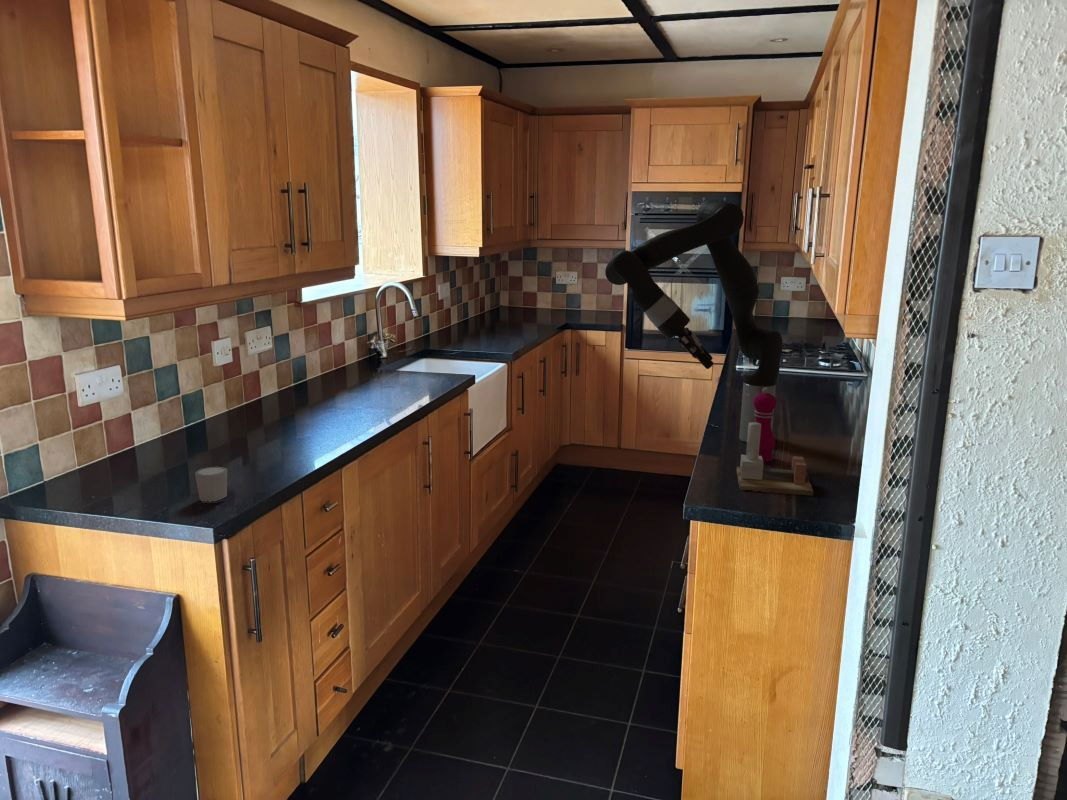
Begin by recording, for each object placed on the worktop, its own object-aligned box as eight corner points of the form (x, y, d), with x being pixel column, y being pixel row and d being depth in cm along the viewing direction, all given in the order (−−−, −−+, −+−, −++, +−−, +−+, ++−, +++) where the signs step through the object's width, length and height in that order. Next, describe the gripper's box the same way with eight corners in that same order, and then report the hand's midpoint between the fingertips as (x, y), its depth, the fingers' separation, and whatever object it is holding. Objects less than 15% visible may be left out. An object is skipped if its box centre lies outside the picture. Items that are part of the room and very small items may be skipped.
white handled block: (739, 471, 199) (743, 420, 196) (760, 472, 198) (764, 421, 195) (741, 478, 194) (745, 426, 191) (762, 479, 193) (766, 427, 190)
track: (736, 470, 204) (738, 448, 203) (804, 475, 201) (806, 452, 200) (739, 490, 190) (741, 465, 188) (813, 495, 187) (815, 470, 185)
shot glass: (211, 493, 183) (208, 464, 182) (236, 496, 181) (233, 467, 180) (190, 503, 177) (187, 473, 175) (216, 506, 175) (213, 477, 173)
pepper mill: (769, 454, 219) (774, 384, 214) (777, 462, 211) (784, 390, 207) (743, 454, 218) (748, 384, 214) (751, 462, 211) (757, 390, 207)
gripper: (677, 309, 188) (723, 358, 189) (678, 303, 202) (720, 349, 202) (654, 330, 190) (699, 379, 191) (656, 322, 204) (698, 368, 205)
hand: (710, 363), depth 197 cm, fingers open, 8 cm apart
